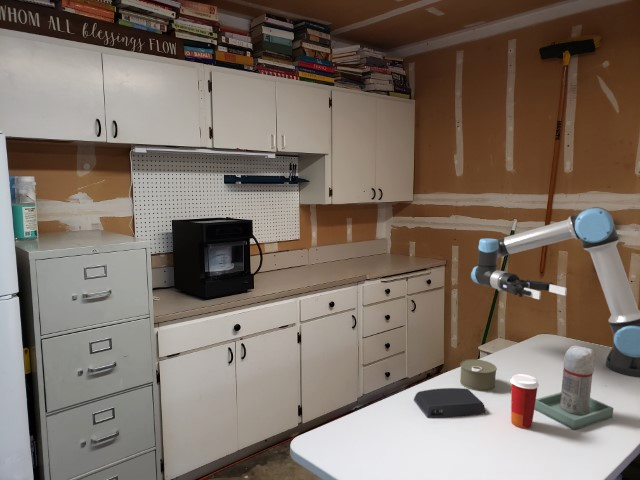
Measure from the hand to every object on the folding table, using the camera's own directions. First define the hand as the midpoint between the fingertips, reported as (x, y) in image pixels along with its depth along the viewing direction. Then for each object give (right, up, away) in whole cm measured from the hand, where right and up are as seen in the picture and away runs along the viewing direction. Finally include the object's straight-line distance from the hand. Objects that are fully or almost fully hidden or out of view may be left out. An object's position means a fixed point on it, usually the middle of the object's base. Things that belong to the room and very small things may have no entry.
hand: (553, 293), depth 167 cm
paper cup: (-23, -36, -27) cm, 50 cm away
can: (-27, -32, 0) cm, 42 cm away
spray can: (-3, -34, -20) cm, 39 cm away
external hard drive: (-42, -34, -17) cm, 57 cm away
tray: (-4, -35, -20) cm, 40 cm away
